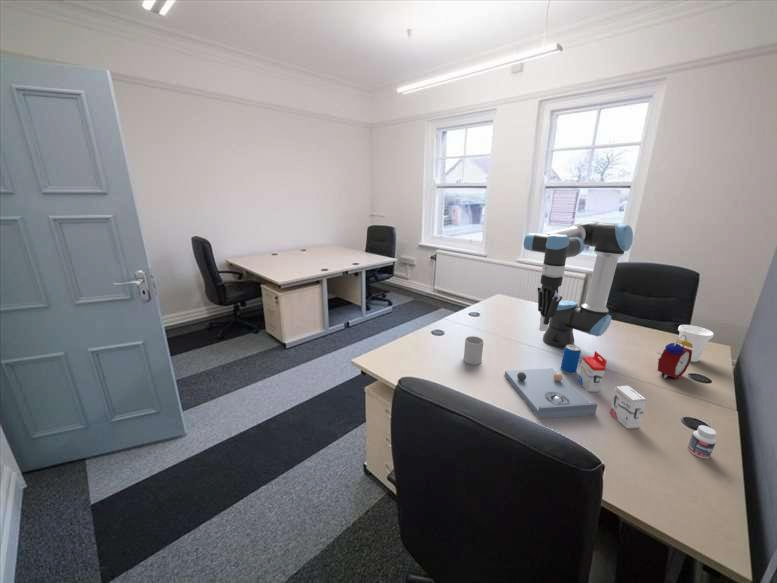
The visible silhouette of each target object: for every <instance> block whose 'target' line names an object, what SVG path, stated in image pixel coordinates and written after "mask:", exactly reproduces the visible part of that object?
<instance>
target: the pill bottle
mask: <svg viewBox="0 0 777 583" xmlns="http://www.w3.org/2000/svg"><path fill="white" fill-rule="evenodd" d="M716 435H717V432H716V430H715V429H713V428H711V427H709V426H707V425H702V424H701V425H698V427H697V430H693V432H692V434H691V437H690V439H689V443H688V445H687V449H688V451H689V452H690V453H691V454H693V455H695V456H696V457H698V458H702V459H709V458H710V457H711V455H712V453H713V450H714V447H715V445H716V443H717V440H716V438H715V437H716Z"/></svg>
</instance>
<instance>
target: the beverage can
mask: <svg viewBox="0 0 777 583" xmlns="http://www.w3.org/2000/svg"><path fill="white" fill-rule="evenodd" d="M581 353H582V352H581V348H580V347H579V346H577V345H576V344H574V345H566V347H565V348H563V353H562V359H561V364H560V370H562V371H563V372H564V373H565V374H569V375H570V374H571V375H572V374H576V373H577V371H578V367H579V362H580V357H581Z"/></svg>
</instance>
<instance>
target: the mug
mask: <svg viewBox="0 0 777 583" xmlns="http://www.w3.org/2000/svg"><path fill="white" fill-rule="evenodd" d="M483 349H484V340H483V339H482V338H481V337H478V336H474V335H473V336H472V335H471V336H467V337H465V339H464V350H463V361H464V362H465V364H468V365H473V366H477V365H480V364H481V363H482V361H483V352H484V351H483Z"/></svg>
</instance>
